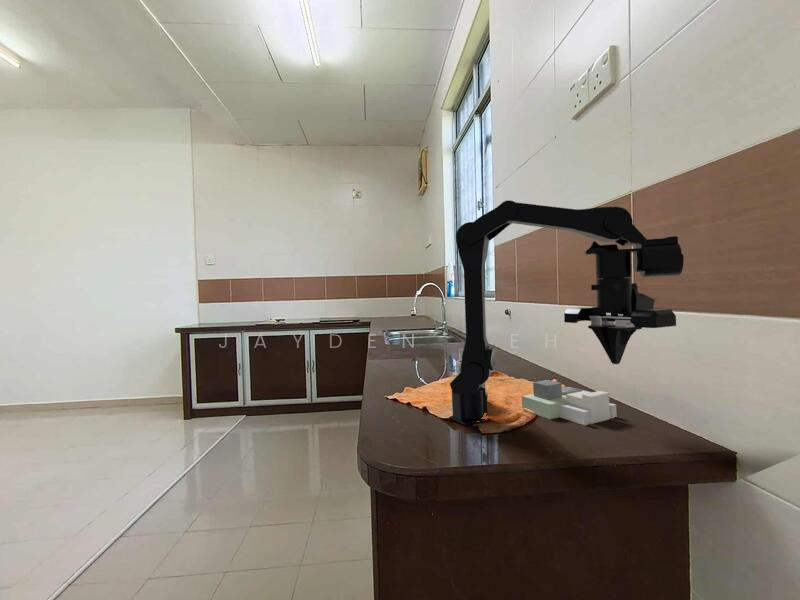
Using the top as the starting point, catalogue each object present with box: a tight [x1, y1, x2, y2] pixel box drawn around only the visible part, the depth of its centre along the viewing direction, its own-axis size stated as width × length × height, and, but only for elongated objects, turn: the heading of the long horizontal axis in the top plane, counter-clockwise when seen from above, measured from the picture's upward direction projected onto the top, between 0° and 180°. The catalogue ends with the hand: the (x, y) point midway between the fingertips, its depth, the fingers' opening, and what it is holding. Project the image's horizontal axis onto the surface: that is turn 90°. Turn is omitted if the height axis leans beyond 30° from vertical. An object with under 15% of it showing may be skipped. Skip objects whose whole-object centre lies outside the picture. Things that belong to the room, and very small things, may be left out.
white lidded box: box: [566, 390, 611, 425], centre depth 81 cm, size 5×6×5 cm
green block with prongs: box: [521, 379, 617, 426], centre depth 85 cm, size 14×14×6 cm
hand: (615, 363), depth 74 cm, fingers closed
